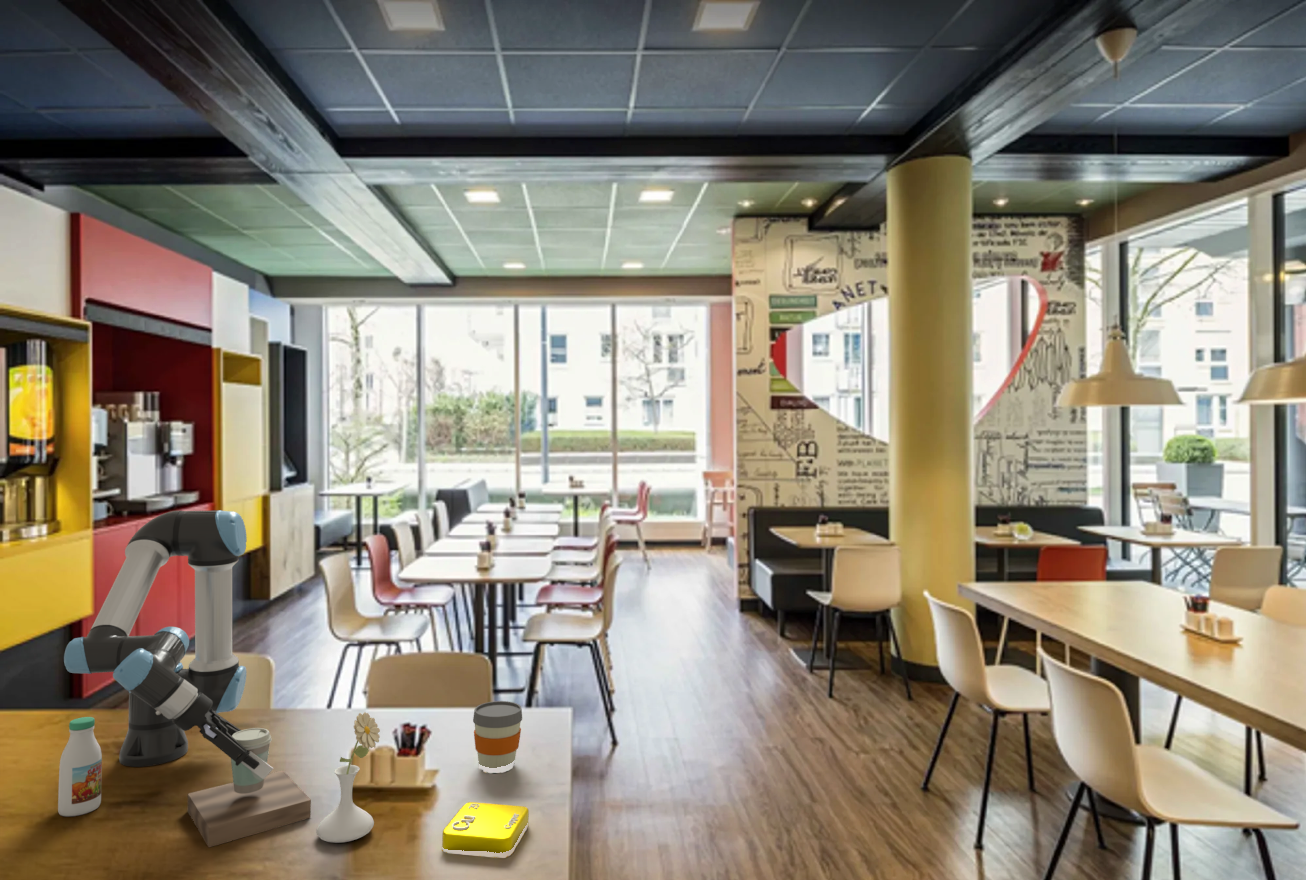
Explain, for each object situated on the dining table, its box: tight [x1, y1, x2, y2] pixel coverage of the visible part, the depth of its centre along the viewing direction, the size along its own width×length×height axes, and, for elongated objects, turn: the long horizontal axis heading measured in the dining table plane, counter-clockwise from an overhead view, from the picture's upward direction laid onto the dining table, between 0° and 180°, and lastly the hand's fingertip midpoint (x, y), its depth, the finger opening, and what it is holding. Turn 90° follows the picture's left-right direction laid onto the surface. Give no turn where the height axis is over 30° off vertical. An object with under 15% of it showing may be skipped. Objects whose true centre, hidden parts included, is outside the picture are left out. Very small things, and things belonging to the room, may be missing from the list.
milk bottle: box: [57, 716, 103, 817], centre depth 173 cm, size 8×8×20 cm
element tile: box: [441, 801, 530, 853], centre depth 165 cm, size 15×15×5 cm
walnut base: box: [187, 769, 312, 848], centre depth 173 cm, size 20×20×4 cm
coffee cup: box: [230, 727, 272, 794], centre depth 172 cm, size 8×8×12 cm
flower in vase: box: [316, 711, 381, 844], centre depth 166 cm, size 13×11×25 cm
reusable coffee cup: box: [472, 700, 523, 768], centre depth 201 cm, size 13×13×15 cm
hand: (266, 765), depth 174 cm, fingers closed on coffee cup, 8 cm apart
